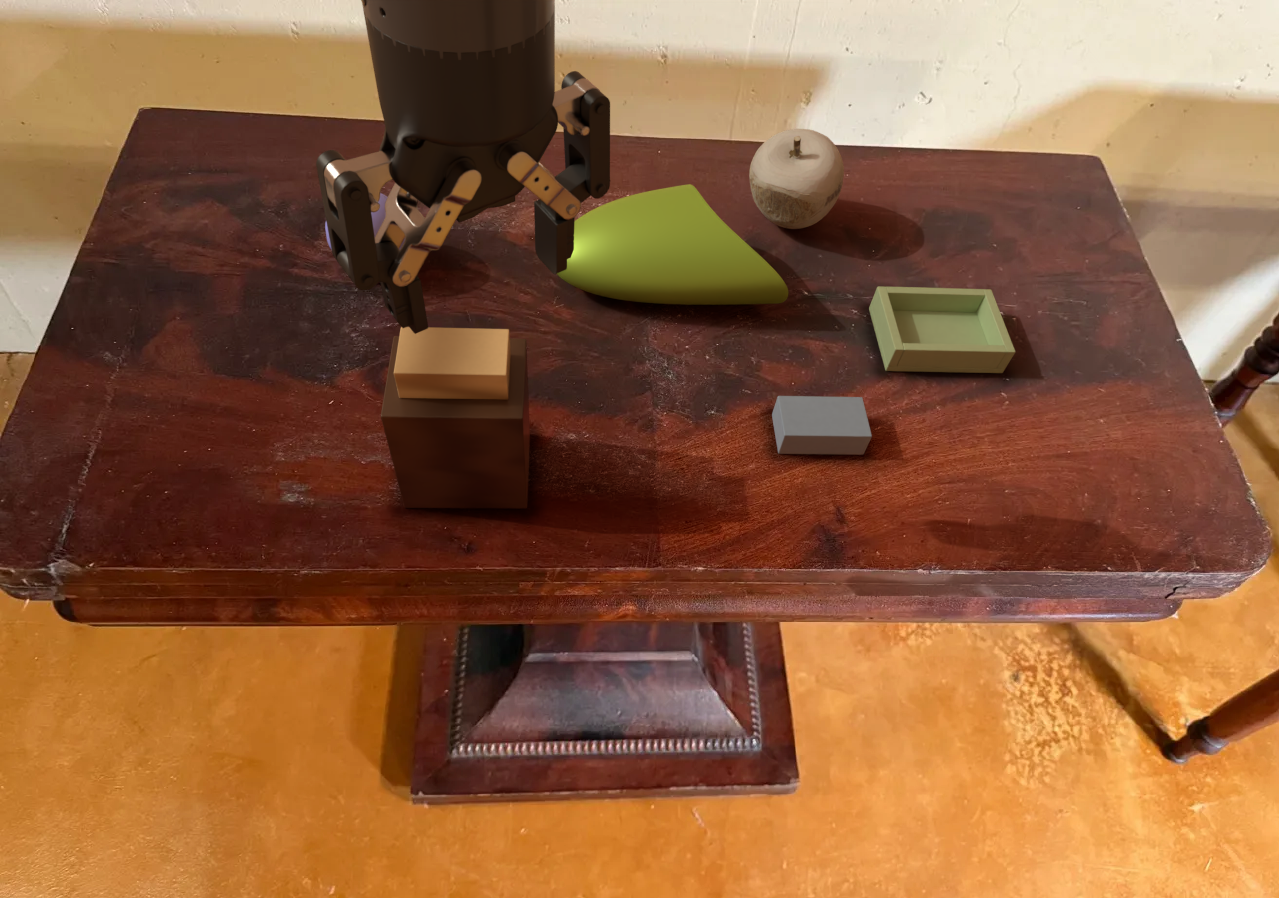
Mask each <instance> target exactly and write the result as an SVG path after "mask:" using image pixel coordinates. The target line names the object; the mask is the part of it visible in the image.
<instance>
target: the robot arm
mask: <svg viewBox="0 0 1279 898" xmlns="http://www.w3.org/2000/svg"><path fill="white" fill-rule="evenodd" d="M360 1H361V6H362V11H363V16H364V22H365V28H366V33H367V39H368V45H369V50H370V57H371V61H372V62H371V63H372V67H373V73H374V79H375V85H376V90H377V96H378V101H379V105H380V106H379V107H380V110H381V114H382V117H383V122H384V123H383V124H384V133H383V138H382V140H381V143H380V146H379V149H378V151H376V152H372V153H368V154H364V155H360V156H357V157H353V158H349V159H346V158H345V157H344V156H343V155H342V154H341V152H339V151H337V150H334V149H328V150H326V151H325V150H324V151H323V152H322V153H321V154H319V156H317V159H316V163H315V166H316V171H317V177H318V183H319V189H320V195H321V199H322V205H323V210H324V211H323V212H324V215H325V222H326V221H327V227H328V232H329V238H330V243H331V248H330V250H331V249H332V250H331V254H332V256H333V258H334V259H335V260H336V262H337V263H338V264H339V266H340V268H342V270H343V272H344V273H345V274H346V275H347V277H348V278H349V279H350V280H351V282H352V283H353V285H354V286H355V287H356V288H357V289H358V290H360V291H369V290H372V289H374V288H375V287H376V286H377V285H378V283H380V288H381V292H382V297H383V303H384V307H385V308H386V309H387V311H388V312H389V313H390V314H391V316H392V317H393V319H394V320H395V321H396V323H398V325H399V326H400V328H401V327H402V328H405V327H410V329H411V330H412V331H413V333H415V334H416V333H419V332H421V331H423V330H426V329H428V327H429V322H428V317H427V310H426V305H425V298H424V293H423V286H422V281H421V278H420V277H419V276H418V274H419V272H420V270H421V268H422V266H423V265H424V263H425V261H426V260H427V258H428V256H429V254H430V252H431V251H439V250H440V249H441V247H442V246H443V244H444V242H445V240H446V239H447V237H448V235H449V233H450V231H451V230H452V229H453V226H454V224H455V222H456V221H457V223H463V222H465V221H467V220H470V219H474V218H475V217H476V216H478V215H480V214H481V213H482V212H484V211H486V210H488V209H494V208H501V207H504V206H507V205H509V204H512V203H515V202H516V196H517V195H518V194H520V193H521V192H522V191H523V190H524V189H525V188H526V189H527V190H529V191H530V192H531V193H532V194H533V195H535V197H537V198H538V199H536V200H534V201H533V205H534V206H533V208H534V209H533V210H534V248H535V249H534V250H535V253H536V256H537V258H538V259H539V260H540V262H542V264H543V265H544V266H545V267H546V269H548V270H549V271H550V272H551V274H552V275H557V273H559V272H562V271H564V270H566V269H567V259H569V258H571V255H572V253H573V250H574V221H575V220H576V219H575V217H577V215H578V214H579V213H580V211H581V208H582V203H583V202H585V201H587V199H589V198H590V197H592V198H593V199H596V200H597V199H601V198H603V197H604V196H606V194H607V193H608V192H609V190H610V187H611V100H610V98H609V97H608V96H606V95H605V94H604V93H603V92H602V91H601V90H600V89H599V88H598V87H597V86H596V85H595V84H593V82H591V81H590V80H589V79H588V78H586V77H585V76H584V75H583V74H581V72H579V71H577V70H574V71H570V72H568V73H567V74H566V75H565V76H564V77H563V79H562V81H561V85H560V86H561V87H560V89H559V90H556V89H555V88H556V85H555V84H556V82H555V80H556V76H555V75H556V73H555V72H556V68H555V67H556V50H555V49H556V7H555V6H556V0H360ZM559 125H560V126H561V127H562V128H563V148H564V149H563V151H564V168H565V169H563V170H562V171H561V172H559V173H558V174H557V175H556V176H555V175H554V174H553V173H552V172H551V171H550V170H549V169H548V168H547V167H545V165H544V164H542V163H541V162H540V161H541V159H542V158H543V156H544V154H545V152H546V150H547V148H548V147H549V145H550V143H551V142H552V139H553V138H554V136H555V135H556V133H557V130H558V126H559ZM391 181H393V182H394V184H393V186H392V188H391V190H390V191H389V194H388V195H387V197H388V198H387V199H386V202H385V212H386V216H385V219H384V221H383V223H382V225H381V226H380V228H379V230H378V232H377V234H376V236H375V237H374V229H373V222H372V215H371V212H377V211H378V210H379V208H380V204H379V203H378V202H379V199H380V193H381V192H382V189H383V188H384V186H385V185H386V184H387V183H389V182H391ZM418 202H420V203H421V204H423V205H424V206H425V207H427V208H428V209H429V210H428V212H427V213H426V215H425V216H424V215H423V214H422V213H421V212H420V210H419V207H418V204H419V203H418ZM404 238H405V241H404V243H403V245H402V247H401V249H399V248H400V246H401V244H402V242H403V240H404Z"/></svg>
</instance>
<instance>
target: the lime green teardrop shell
mask: <svg viewBox="0 0 1279 898" xmlns="http://www.w3.org/2000/svg"><path fill="white" fill-rule="evenodd" d="M556 275H557V276H558V277H559V278H560V279H561V280H563V281H564V282H565V283H567V284H568V285H570V286H572V287H574V288H577V289H579V290H581V291H583V292H586V293H589V294H592V295H596V296H600V297H603V298H608V299H613V300H619V301H620V300H621V301H627V302H634V303H635V302H636V303H644V304H645V303H646V304H658V305H659V304H661V305H683V306H684V305H688V306H691V305H692V306H694V305H695V306H700V305H701V306H717V305H718V306H721V305H725V306H726V305H728V306H729V305H776V304H783V303H784V302H786V301H787V299H788V297H789V288H788V286H787V284H786V283H785V282H786V281H784V280H783V278H782V277H781V275H780V274H779V273H778V271H776V270H775V269H774V268H773V267H772V266H771V264H770V263H768V262H767V260H765V259H764V257H762V256H761V255H760V254H759V253H758V252H757V251H756V250H755V249H753V248H752V247H751V246H750V245H749V244H748V243H747V242H746V241H745V240H744V239H742V238H741V237H740V236H739V235H738V234H737V233H736V232H735V231H734V230H733V229H732V228H731V227H730V226H728V224H726V222H725V221H723V219H722V218H721V217H719V215H718V214H717V213H716V212H715V211H714V210H713V209H712V207H710V205H709V204H708V203H707V201H706V199H704V197H703V196H702V194H701V193H700V192H699V191H698V189H697V188H696V187H695V186H694V184H691V183H689V184H681V185H675V186H670V187H664V188H658V189H653V190H649V191H643V192H639V193H635V194H631V195H627V196H624V197H621V198H617V199H615V200H612V201H609V202H607V203H603V204H602V205H600V206H598V207H596V208H593V209H592V210H590V211H588V212H586V213H584V214H583V215H581V216H580V217H578V218H577V219H575V220H574V250H573V253H572V255H571V258H569V259H567V269H566V270H564V271H562V272H559V273H557V274H556Z"/></svg>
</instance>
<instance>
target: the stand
mask: <svg viewBox="0 0 1279 898" xmlns="http://www.w3.org/2000/svg"><path fill="white" fill-rule="evenodd" d="M399 336H400V335H394V336H392V337H393V338H392V344H391V351H390V357H389V362H388V369H387V375H386V380H385V385H384V386H385V387H384V393H383V399H382V405H381V411H380V419H381V424H382V427H383V431H384V434H385V435H384V436H385V439H386V442H387V443H386V444H387V447H388V450H389V454H390V458H391V462H392V466H393V471H394V473H395V477H396V481H397V486H398V489H399V492H400V496H401V501H402V505H403V508H404V509H524V510H525V509H528V499H529V472H530V448H531V447H530V446H531V445H530V444H531V443H530V442H531V423H530V421H531V420H530V398H529V397H530V395H529V373H528V372H529V369H528V349H527V346H528V345H527V338H511V337H510V350H511V359H510V377H509V395H508V399H507V400H500V399H435V398H399V395H398V390H397V386H396V381H395V377H394V367H395V361H396V355H397V348H398V342H399Z"/></svg>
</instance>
